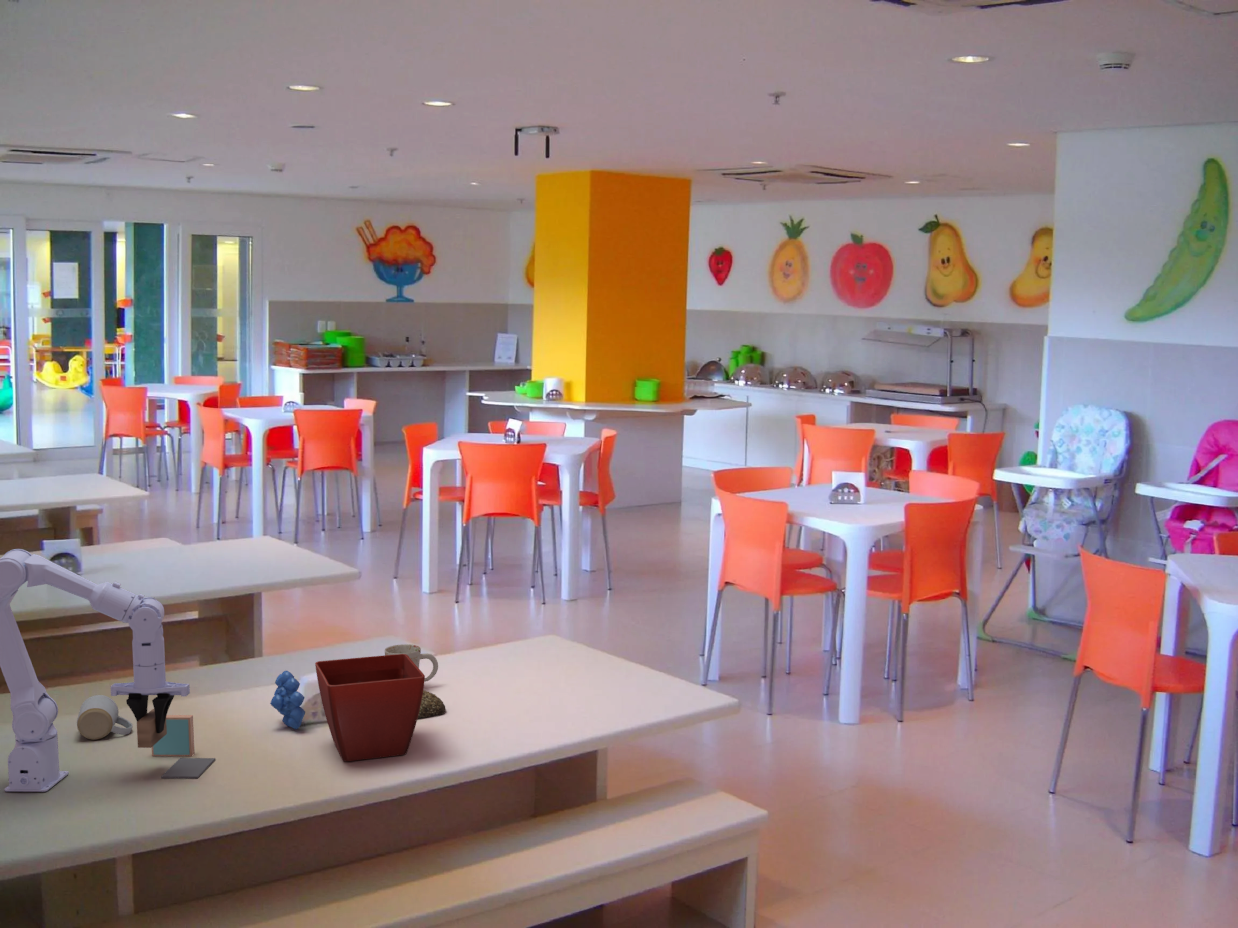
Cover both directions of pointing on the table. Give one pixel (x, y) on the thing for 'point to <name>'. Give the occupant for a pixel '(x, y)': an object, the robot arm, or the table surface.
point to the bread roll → (430, 705)
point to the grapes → (288, 700)
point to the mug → (413, 656)
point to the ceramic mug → (101, 718)
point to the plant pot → (371, 704)
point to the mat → (188, 768)
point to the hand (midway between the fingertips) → (152, 731)
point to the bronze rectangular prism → (149, 731)
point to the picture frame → (176, 737)
